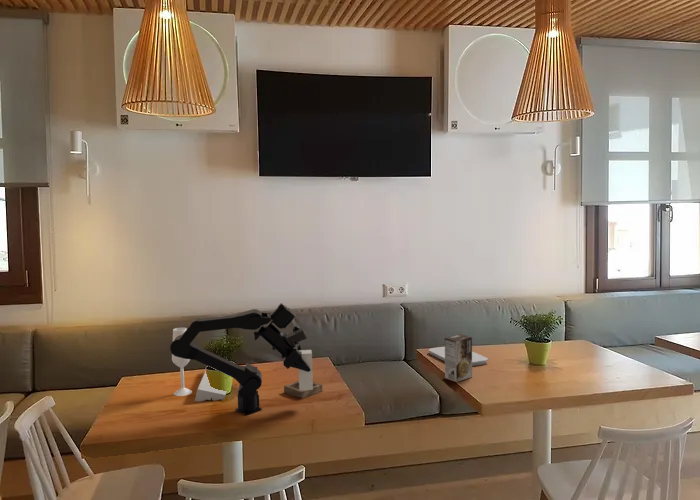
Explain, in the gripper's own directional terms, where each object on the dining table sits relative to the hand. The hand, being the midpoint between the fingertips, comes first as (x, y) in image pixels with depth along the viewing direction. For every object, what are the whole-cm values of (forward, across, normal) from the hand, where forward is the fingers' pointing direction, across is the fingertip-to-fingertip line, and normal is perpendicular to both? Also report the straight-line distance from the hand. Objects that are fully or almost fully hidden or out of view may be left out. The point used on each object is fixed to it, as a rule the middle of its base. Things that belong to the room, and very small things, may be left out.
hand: (309, 368), depth 192 cm
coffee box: (+51, +20, -32) cm, 63 cm away
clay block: (+4, 0, +6) cm, 7 cm away
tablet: (+56, +45, -37) cm, 81 cm away
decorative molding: (-15, +29, +34) cm, 47 cm away
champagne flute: (-23, +22, +42) cm, 53 cm away
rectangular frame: (+8, +15, +11) cm, 20 cm away
